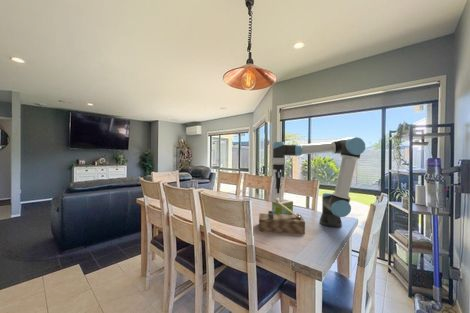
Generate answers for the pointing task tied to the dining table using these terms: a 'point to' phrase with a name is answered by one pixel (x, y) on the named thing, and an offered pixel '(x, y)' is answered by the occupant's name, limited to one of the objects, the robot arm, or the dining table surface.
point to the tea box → (281, 210)
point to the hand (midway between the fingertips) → (277, 197)
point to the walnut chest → (281, 223)
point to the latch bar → (286, 208)
